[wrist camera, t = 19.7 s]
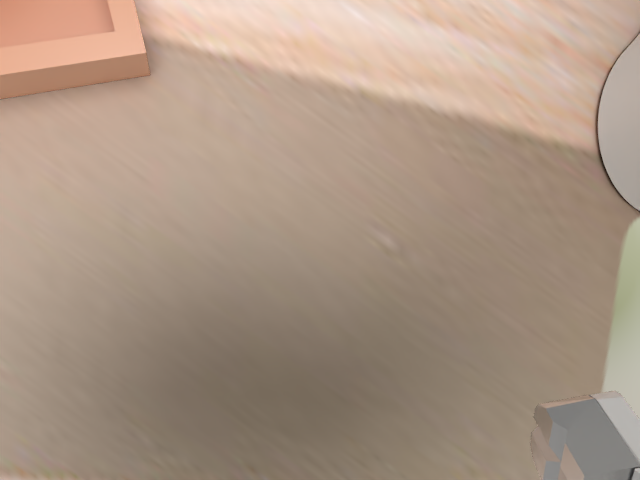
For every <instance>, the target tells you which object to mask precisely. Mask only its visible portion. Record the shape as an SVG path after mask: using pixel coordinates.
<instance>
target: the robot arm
mask: <svg viewBox="0 0 640 480" xmlns="http://www.w3.org/2000/svg"><path fill="white" fill-rule="evenodd" d="M598 138H599V146H600V151H601V155H602V159H603V162H604V165H605V168H606V170H607V173H608V175H609V177H610V179H611V181H612V183H613V184H614V186H615V187H616V189H617V190H618V191H619V193H620V194H621V195H622V196H623V198H624V199H625V200H626V201H627V202H628V203H630V204H631V205H632V206H633V207H634V208H636V209H637V210H639V211H640V33H639V35H638V36H637V37H636V39H635V40H634V41H633V42H632V43H631V44H630V45H629V46H628V47H627V49H626V50H625V51H624V52H623V53H622V54H621V56H620V57H619V58H618V60H617V61H616V63H615V65H614V66H613V68H612V70H611V72H610V74H609V76H608V78H607V81H606V83H605V86H604V89H603V93H602V96H601V101H600V106H599V114H598ZM534 419H535V421H536V423H537V424H538V426H537V427H536V428H535V429H534V430H533V431H532V432H531V442H530V446H531V451H532V457H533V461H534V464H535V466H536V469H537V471H538V473H539V475H540V478H541V480H640V419H639V418H638V416H637V415H636V414H635V412H634V411H633V410H632V408H631V407H630V406H629V404H628V403H627V401H626V400H625V399H624V397H623V396H622V395H621V394H620V393H618V392H616V391H609V392H604V393H598V394H593V395H589V396H588V395H583V396H578V397H573V398H568V399H562V400H557V401H552V402H547V403H542V404H538V405H537V406H536V408H535V412H534Z"/></svg>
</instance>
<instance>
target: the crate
mask: <svg viewBox="0 0 640 480" xmlns="http://www.w3.org/2000/svg"><path fill="white" fill-rule="evenodd" d="M148 75H150V71H149V65H148V60H147V54H146V50H145V45H144V41H143V37H142V33H141V28H140V24H139V20H138V15H137V11H136V7H135V3H134V0H0V99H5V98H11V97H17V96H23V95H30V94H36V93H42V92H48V91H55V90H61V89H67V88H73V87H79V86H86V85H92V84H98V83H104V82H111V81H117V80H123V79H129V78H136V77H142V76H148Z"/></svg>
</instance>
